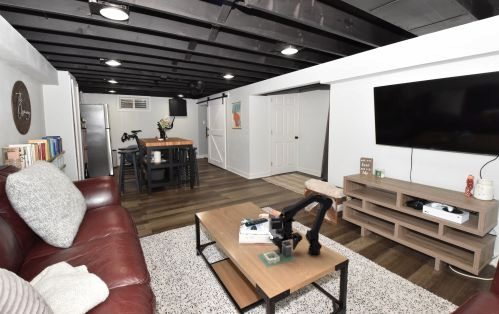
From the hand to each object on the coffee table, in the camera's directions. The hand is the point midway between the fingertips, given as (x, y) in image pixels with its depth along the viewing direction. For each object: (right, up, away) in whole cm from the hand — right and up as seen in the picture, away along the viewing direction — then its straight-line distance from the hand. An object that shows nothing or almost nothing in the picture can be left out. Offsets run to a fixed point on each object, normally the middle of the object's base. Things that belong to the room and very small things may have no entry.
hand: (287, 251), depth 148 cm
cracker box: (-3, -1, +20) cm, 20 cm away
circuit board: (-7, -4, -1) cm, 8 cm away
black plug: (0, -2, 0) cm, 2 cm away
